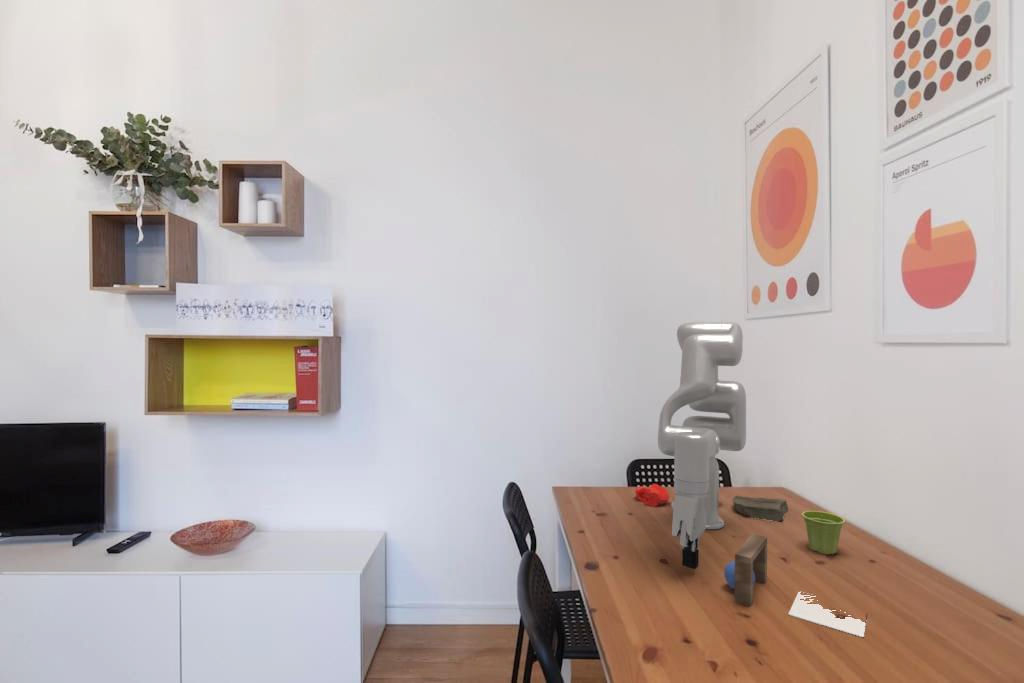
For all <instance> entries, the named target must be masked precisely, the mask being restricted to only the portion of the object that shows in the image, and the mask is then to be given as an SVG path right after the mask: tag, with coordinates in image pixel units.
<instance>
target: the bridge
mask: <svg viewBox="0 0 1024 683" xmlns="http://www.w3.org/2000/svg"><path fill="white" fill-rule="evenodd" d="M734 561H735V589H734V599H733V600H734V603H737V604H738V605H739V604H740V605H744V606H746V607H752V605H753V603H754V599H753V598H754V585H753V572H754V574H755V582H757V583H761V584H766V582H767V580H768V571H767V570H768V536H766V535H762V534H757V533H752V534H751V535H750V536H749V537H748V538H747V539H746V541H745V542H744V543H743V544H742V545H741V547H739V548H738V550H737V551H736V552H735V554H734Z"/></svg>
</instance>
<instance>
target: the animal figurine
mask: <svg viewBox="0 0 1024 683" xmlns="http://www.w3.org/2000/svg"><path fill="white" fill-rule="evenodd" d="M634 493H635V498H636V499H638V500H640V501H641V502H642V503H643V504H644V505H646V506H650V507H657V506H658V505H659V504H660V505H661V504H666V503H668V501H669V500H670V498H671V496H670V495H669V492H668V490H667V489H666V488H665V487H664V486H662V485H658V484H657V483H652V484H651V485H650V486H649V487H645V485H641V486H639V487H638V486H637V487H636V488H635V491H634Z"/></svg>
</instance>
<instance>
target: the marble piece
mask: <svg viewBox="0 0 1024 683" xmlns="http://www.w3.org/2000/svg"><path fill="white" fill-rule="evenodd" d="M732 500H733V501H732V502H733V506H734V508H735V510H736V511H737V513H738V512H739V513H738V514H740V513H741V514H740V515H742V514H744V515H743V516H745V515H747V516H749V517H751V518H759V519H766V520H773V521H779V522H782V521H784V519H783V516H784V517H785V515H784V514H785V513H787V511H788V512H789V506H788V504H787V500H785V499H781V498H780V499H779V498H768V497H749V496H741V495H735V496H734V497H733V498H732ZM787 514H788V513H787ZM747 516H746V517H747ZM749 517H748V518H749ZM751 518H750V519H751ZM759 519H758V520H759ZM773 521H772V522H773Z"/></svg>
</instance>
